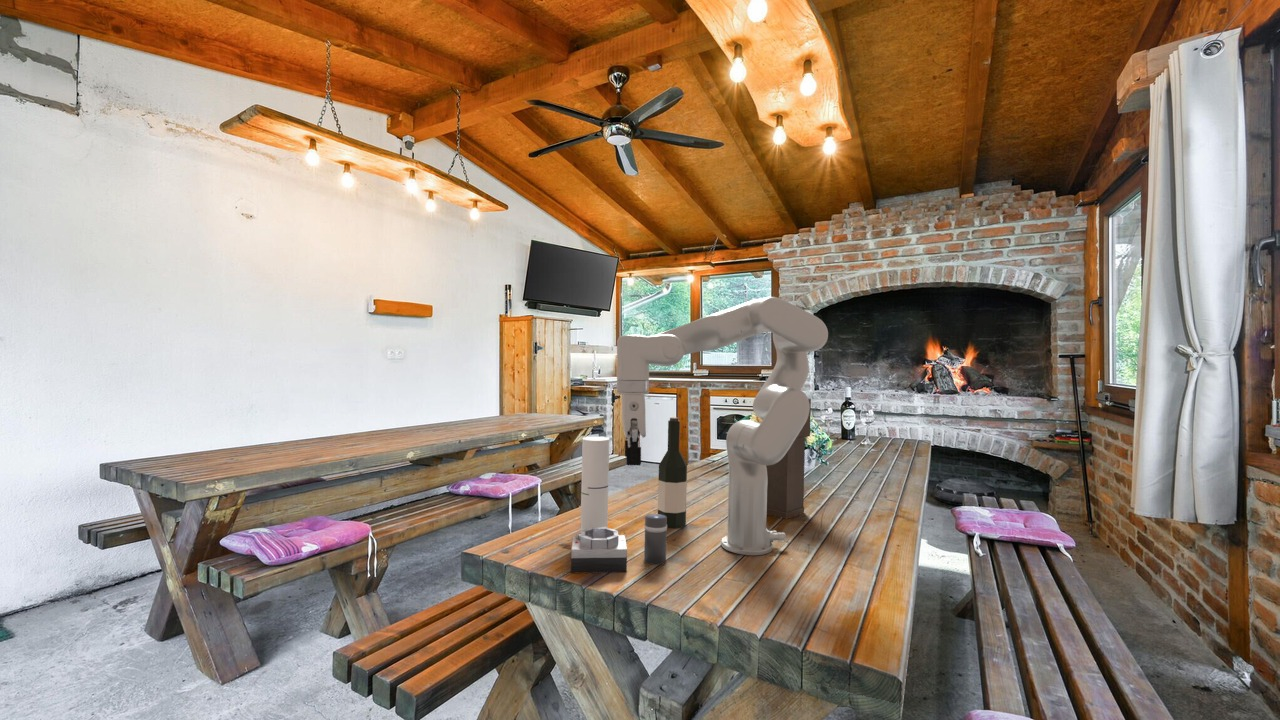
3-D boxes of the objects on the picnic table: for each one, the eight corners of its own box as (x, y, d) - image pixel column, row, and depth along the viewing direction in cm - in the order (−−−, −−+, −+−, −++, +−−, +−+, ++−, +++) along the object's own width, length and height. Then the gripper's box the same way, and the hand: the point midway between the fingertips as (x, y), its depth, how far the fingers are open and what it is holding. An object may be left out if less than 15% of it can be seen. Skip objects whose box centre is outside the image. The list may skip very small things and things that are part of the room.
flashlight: (664, 556, 125) (665, 513, 125) (667, 564, 120) (668, 519, 120) (642, 556, 124) (643, 513, 124) (644, 564, 119) (645, 520, 119)
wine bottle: (691, 522, 151) (694, 417, 151) (677, 530, 144) (680, 420, 144) (666, 517, 155) (668, 415, 155) (651, 524, 148) (653, 417, 148)
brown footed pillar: (810, 510, 166) (812, 399, 166) (786, 519, 156) (789, 401, 156) (758, 498, 180) (760, 395, 180) (733, 505, 170) (735, 396, 170)
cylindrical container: (603, 538, 136) (605, 441, 136) (576, 535, 138) (578, 439, 138) (610, 529, 143) (612, 437, 143) (585, 527, 145) (587, 436, 145)
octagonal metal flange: (624, 556, 124) (624, 526, 124) (626, 572, 115) (627, 540, 115) (572, 557, 123) (573, 527, 123) (571, 572, 114) (571, 540, 114)
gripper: (652, 390, 115) (651, 468, 115) (646, 385, 132) (645, 453, 133) (617, 390, 115) (617, 468, 115) (616, 385, 132) (615, 454, 132)
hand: (632, 460), depth 124 cm, fingers open, 9 cm apart
